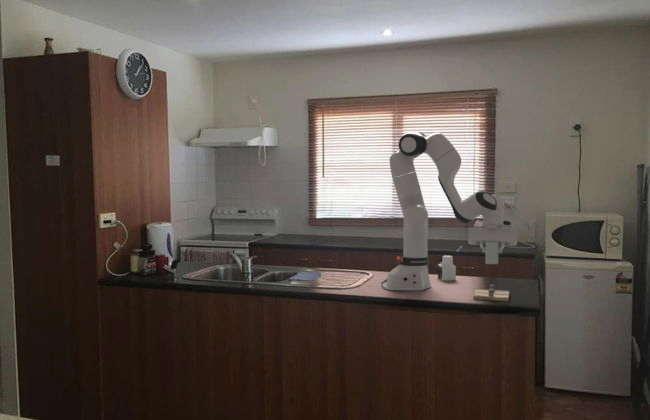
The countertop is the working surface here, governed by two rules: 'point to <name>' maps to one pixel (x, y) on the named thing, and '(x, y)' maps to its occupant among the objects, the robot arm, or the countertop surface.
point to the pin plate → (496, 295)
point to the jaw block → (491, 253)
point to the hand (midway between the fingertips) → (491, 251)
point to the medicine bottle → (446, 268)
